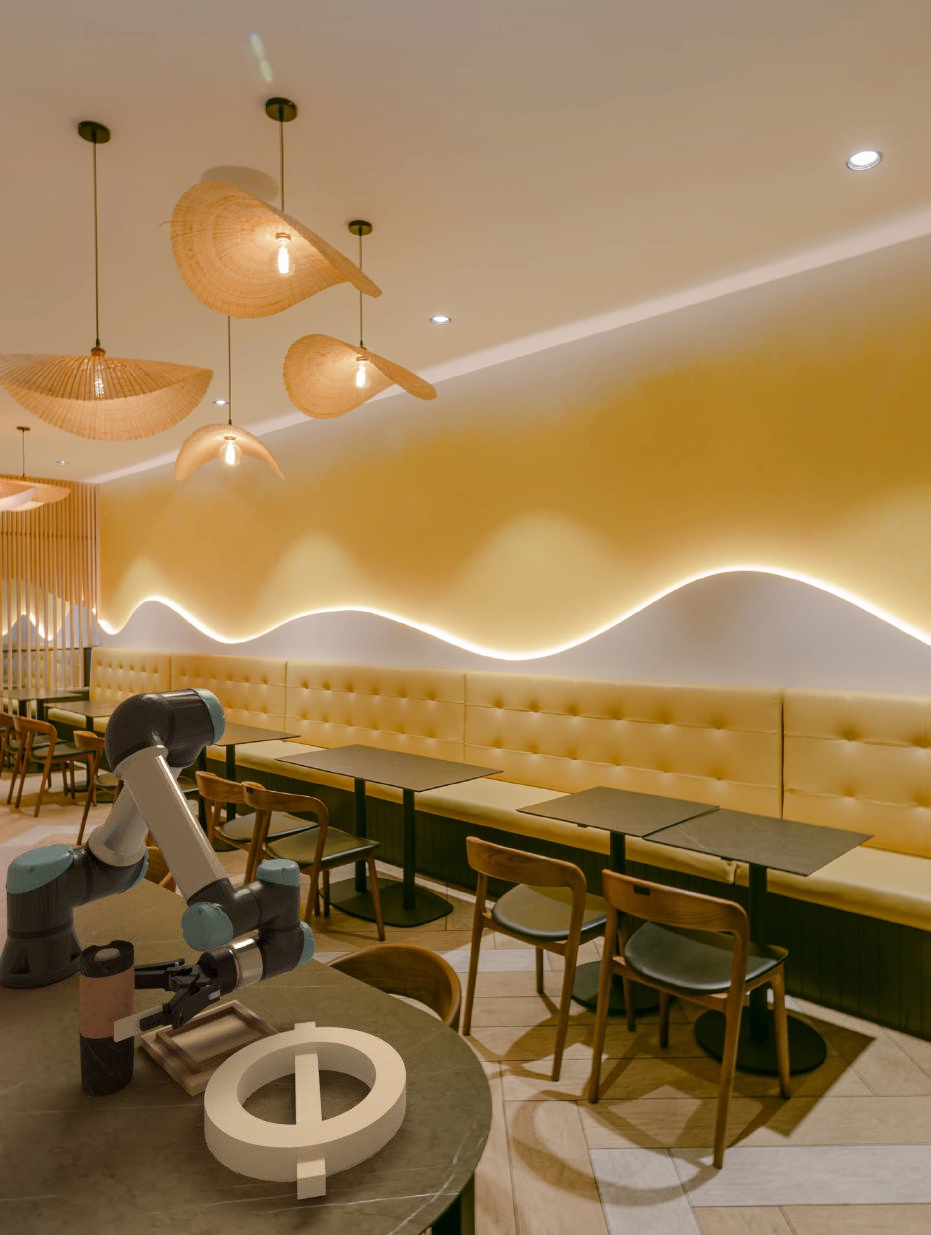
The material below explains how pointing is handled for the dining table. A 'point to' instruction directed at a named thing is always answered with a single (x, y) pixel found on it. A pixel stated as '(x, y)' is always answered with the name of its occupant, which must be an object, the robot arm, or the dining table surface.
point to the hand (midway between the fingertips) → (97, 1014)
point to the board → (205, 1043)
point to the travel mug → (106, 1016)
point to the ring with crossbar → (304, 1105)
